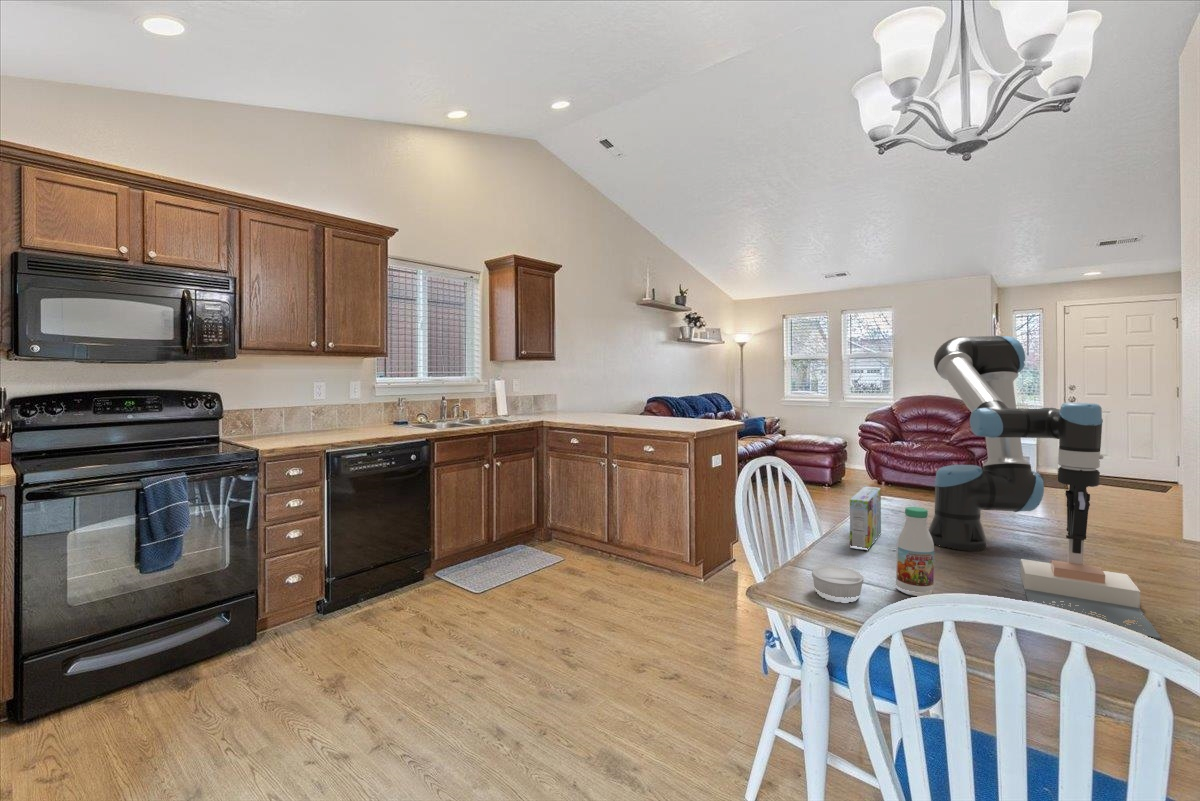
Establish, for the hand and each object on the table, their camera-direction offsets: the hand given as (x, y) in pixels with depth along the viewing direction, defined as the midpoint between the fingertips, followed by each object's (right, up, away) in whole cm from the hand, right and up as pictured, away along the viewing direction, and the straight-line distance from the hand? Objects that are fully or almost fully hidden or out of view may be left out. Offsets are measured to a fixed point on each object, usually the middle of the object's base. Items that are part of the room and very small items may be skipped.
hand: (1074, 565), depth 133 cm
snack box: (-33, -4, +37) cm, 49 cm away
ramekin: (-59, -6, -4) cm, 59 cm away
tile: (-2, -2, -3) cm, 4 cm away
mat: (-9, -6, -13) cm, 17 cm away
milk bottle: (-40, -6, -2) cm, 40 cm away
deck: (-1, -6, -2) cm, 6 cm away
